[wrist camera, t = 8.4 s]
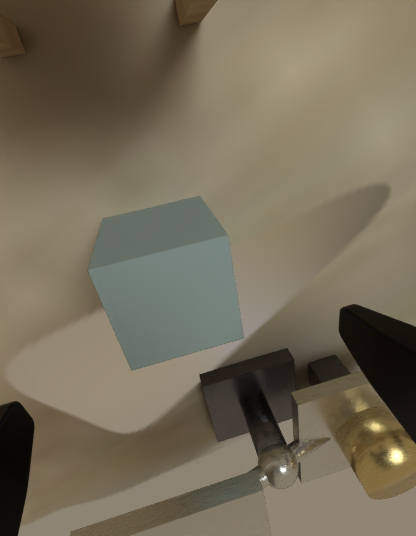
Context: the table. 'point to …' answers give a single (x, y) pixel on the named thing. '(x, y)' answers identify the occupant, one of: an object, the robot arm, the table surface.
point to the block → (166, 281)
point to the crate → (188, 10)
